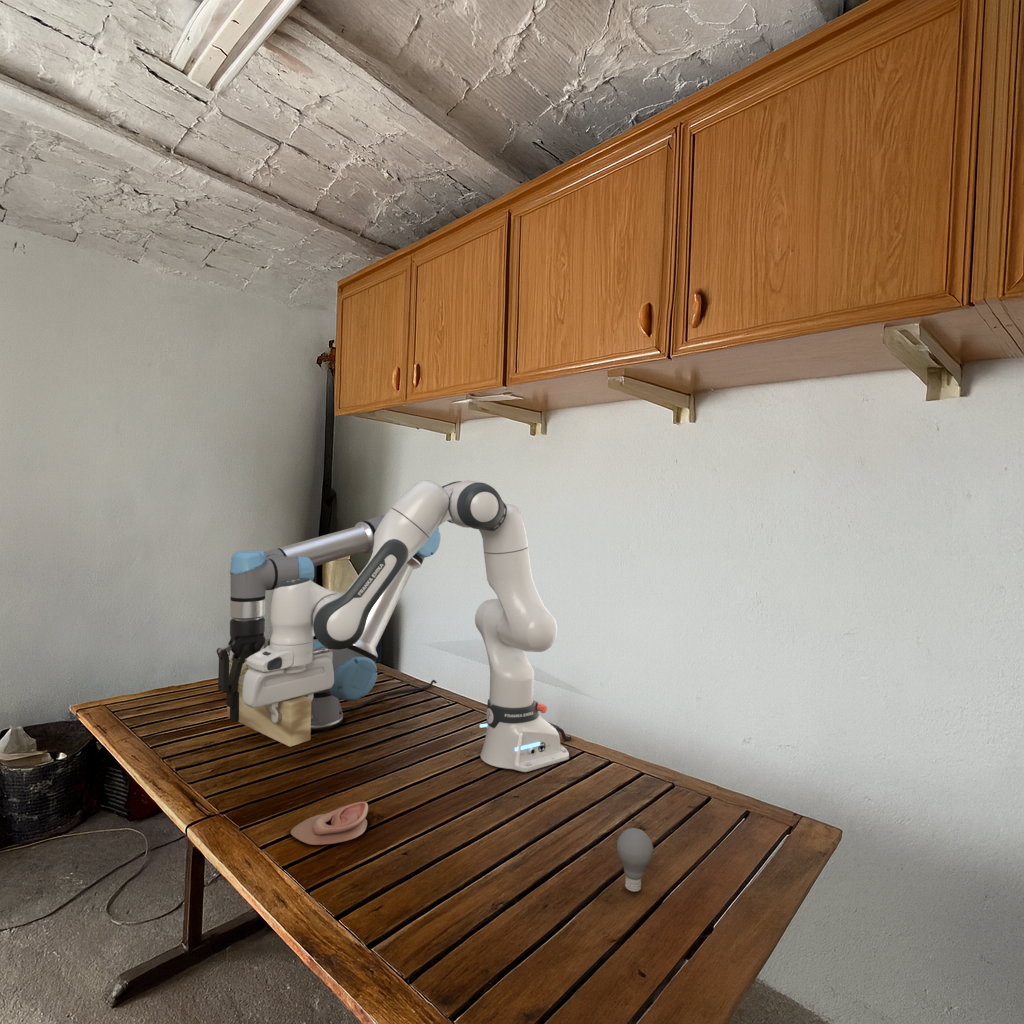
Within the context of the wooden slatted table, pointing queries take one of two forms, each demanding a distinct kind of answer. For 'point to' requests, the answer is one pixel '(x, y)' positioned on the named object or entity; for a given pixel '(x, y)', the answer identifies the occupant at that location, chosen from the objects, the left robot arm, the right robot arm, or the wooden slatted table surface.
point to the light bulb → (634, 856)
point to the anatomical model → (333, 825)
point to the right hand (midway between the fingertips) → (290, 717)
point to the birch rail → (286, 731)
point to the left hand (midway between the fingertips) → (246, 716)
